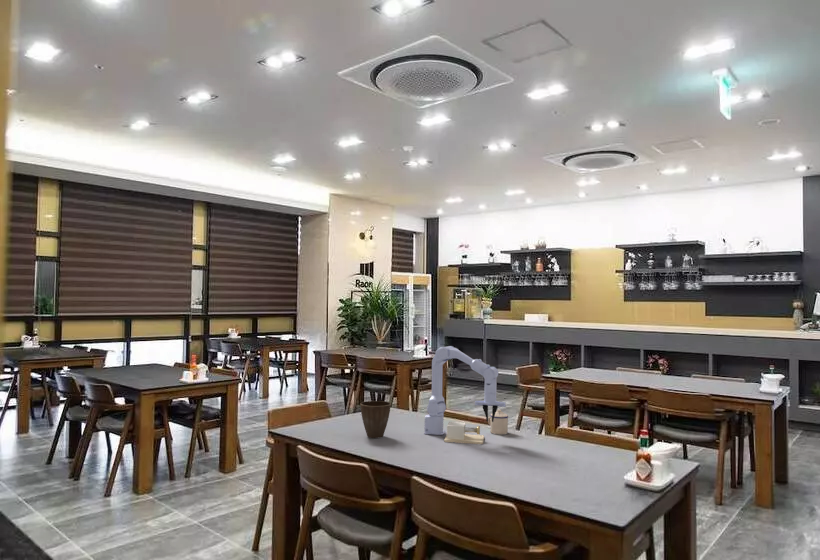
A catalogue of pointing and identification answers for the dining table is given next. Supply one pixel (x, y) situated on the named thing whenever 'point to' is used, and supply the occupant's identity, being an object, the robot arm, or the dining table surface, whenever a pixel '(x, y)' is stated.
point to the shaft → (472, 429)
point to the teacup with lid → (499, 423)
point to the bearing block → (461, 434)
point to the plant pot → (375, 417)
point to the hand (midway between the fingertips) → (489, 421)
